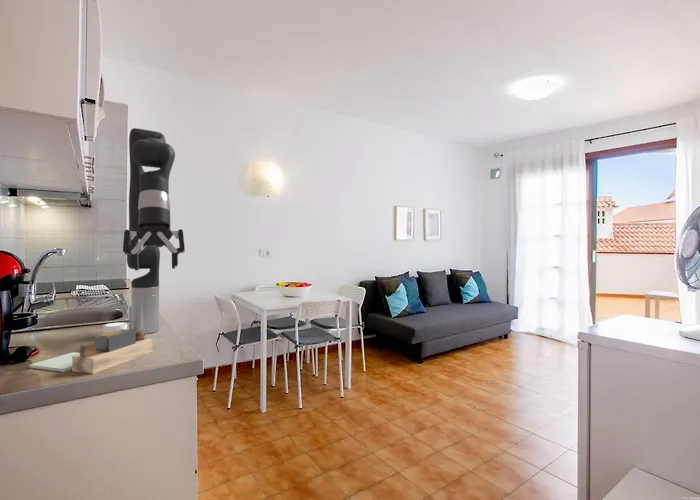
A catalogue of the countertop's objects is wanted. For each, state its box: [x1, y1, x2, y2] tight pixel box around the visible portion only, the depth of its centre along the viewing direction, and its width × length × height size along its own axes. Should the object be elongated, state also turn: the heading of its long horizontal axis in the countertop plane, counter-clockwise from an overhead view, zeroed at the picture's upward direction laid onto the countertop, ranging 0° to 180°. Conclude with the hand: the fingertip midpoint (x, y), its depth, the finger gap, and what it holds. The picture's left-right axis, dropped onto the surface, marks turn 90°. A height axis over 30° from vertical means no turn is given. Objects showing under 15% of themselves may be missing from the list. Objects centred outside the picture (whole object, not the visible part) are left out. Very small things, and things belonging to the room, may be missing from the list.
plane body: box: [71, 331, 154, 375], centre depth 106 cm, size 7×20×7 cm, turn 166°
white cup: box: [102, 321, 128, 333], centre depth 122 cm, size 7×7×7 cm
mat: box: [29, 351, 80, 373], centre depth 104 cm, size 12×12×1 cm
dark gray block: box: [93, 329, 136, 352], centre depth 106 cm, size 5×9×5 cm, turn 166°
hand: (155, 269), depth 96 cm, fingers open, 8 cm apart
